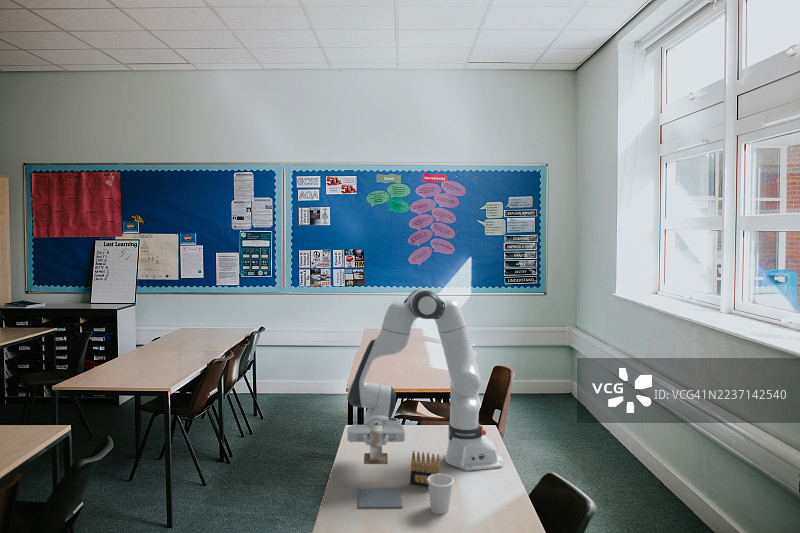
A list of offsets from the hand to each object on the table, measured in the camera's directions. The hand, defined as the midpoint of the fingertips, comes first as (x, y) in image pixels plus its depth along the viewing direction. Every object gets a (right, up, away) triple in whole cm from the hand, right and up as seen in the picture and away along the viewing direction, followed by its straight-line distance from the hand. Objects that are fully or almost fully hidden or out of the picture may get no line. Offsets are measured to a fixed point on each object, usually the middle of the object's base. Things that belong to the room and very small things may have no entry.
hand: (376, 442), depth 176 cm
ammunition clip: (+17, -17, +6) cm, 25 cm away
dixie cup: (+21, -18, -10) cm, 29 cm away
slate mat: (+1, -17, -4) cm, 18 cm away
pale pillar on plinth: (0, -6, +1) cm, 7 cm away
